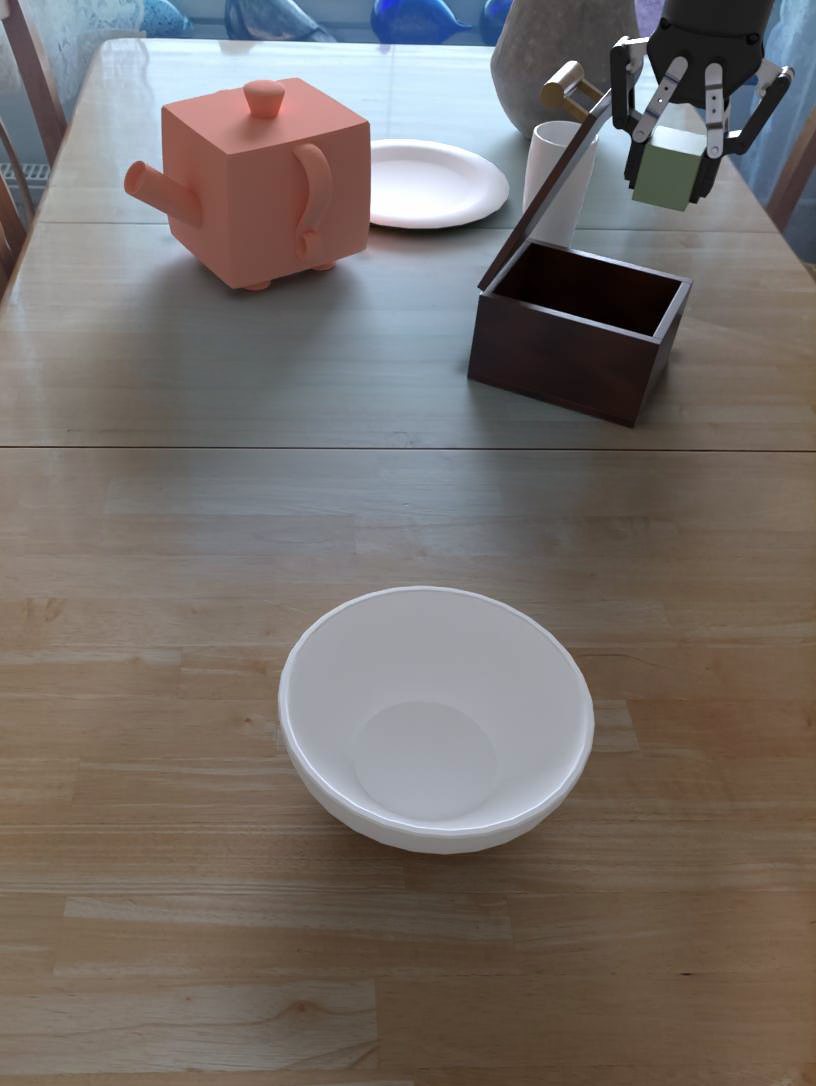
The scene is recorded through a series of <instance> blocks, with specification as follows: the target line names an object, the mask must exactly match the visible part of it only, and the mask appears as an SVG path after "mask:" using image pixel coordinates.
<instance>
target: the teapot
mask: <svg viewBox="0 0 816 1086" xmlns="http://www.w3.org/2000/svg"><path fill="white" fill-rule="evenodd" d="M160 114H161V115H160V123H161V124H160V128H161V130H160V131H161V156H162V157H161V159H162V172H161V171H159V170H158V169H156V168H154V167H153V166H151V165H149V164H148V163H146V162H144V161H143V160H136V161H135V162H133V163H132V164H131V165H130V166H129V168H128V169H127V171H126V172H125V176H124V179H123V189H124V192H125V193H126V194H127V195H128V196H130V197H132V198H135V199H137V200H139V201H140V202H142V203H144V204H146V205H148V206H150V207H152V208H153V209H156V210H158V211H159V212H162V213H164V214H166V216H167V221H168V225H169V226H168V227H169V231H170V234H171V235H172V237H173V238H175V239H176V240H177V241H178V242H179V243H180V244H181V245H182V246H183V247H184V248H185V249H186V250H187V251H189V252H190V253H191V254H192V255H193V256H194V257H195V258H196V259H197V260H198V261H199V262H200V263H202V264H203V265H204V266H205V267H206V268H207V269H209V270H210V271H211V272H212V273H213V274H214V275H215V276H216V277H218V278H219V280H221V281H222V282H224V284H226V285H227V286H228V287H230V288H231V289H234V290H236V289H241V288H242V289H245V290H248V291H261V290H265V289H267V288H269V287H270V286H271V283H272V281H273V280H276V279H279V278H284V277H286V276H290V275H293V274H297V273H300V272H303V271H307V270H310V269H311V270H314V271H328V270H331V269H333V268H334V267H335V266H336V261H338V260H341V259H344V258H348V257H350V256H353V255H356V254H359V253H361V252H364V251H366V249H367V245H368V240H369V233H370V228H371V227H370V225H371V224H370V208H371V141H372V139H371V123H370V122H369V120H367V119H366V118H364V117H363V116H361V115H360V114H358V113H357V112H355V111H354V110H353V109H350V108H349V107H347V106H346V105H344V104H342V103H341V102H340V101H338V100H336V99H335V98H333V97H331V96H330V95H328V94H326V93H325V92H323V91H322V90H320V89H318V88H317V87H315V86H313V85H311V84H310V83H308V82H306V81H305V80H303V79H301V78H300V77H288V78H284V79H283V78H282V79H278V80H273V79H267V78H266V79H265V78H264V79H255V80H251V81H249V82H247V83H244V85H243V86H241V87H236V88H232V89H227V88H226V89H220V90H217V91H216V92H213V93H209V94H204V95H200V96H195V97H190V98H186V99H182V100H177V101H174V102H169V103H167V104H164V105H163V104H162V106H161V108H160Z"/></svg>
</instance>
